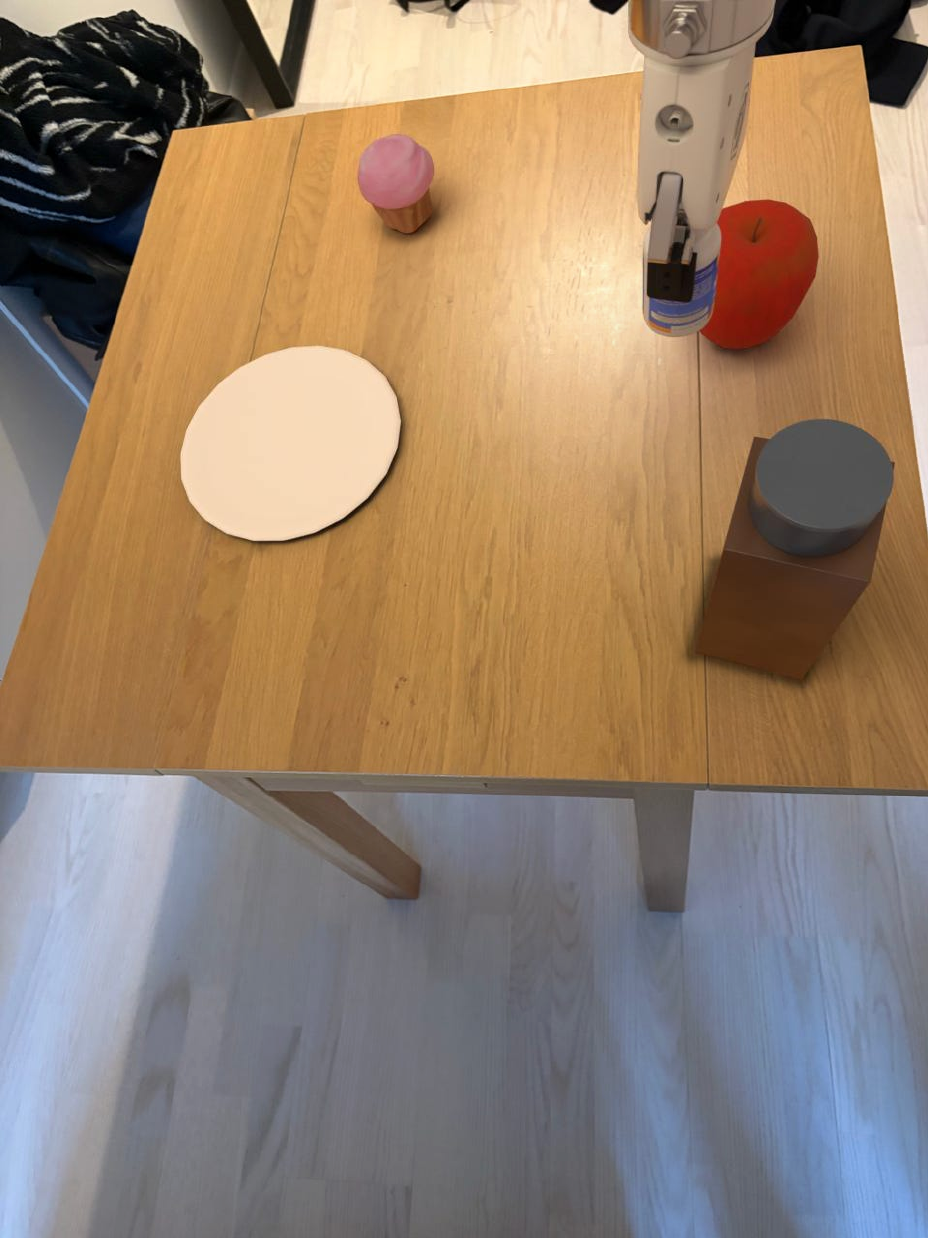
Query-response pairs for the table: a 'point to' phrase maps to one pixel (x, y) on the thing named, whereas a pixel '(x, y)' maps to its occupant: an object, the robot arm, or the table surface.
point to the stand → (780, 593)
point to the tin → (819, 487)
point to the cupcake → (397, 181)
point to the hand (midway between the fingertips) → (680, 262)
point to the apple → (760, 271)
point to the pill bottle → (697, 312)
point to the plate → (290, 443)
